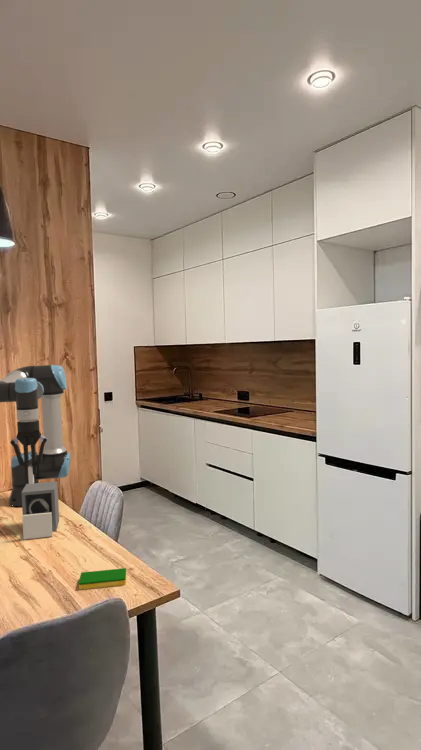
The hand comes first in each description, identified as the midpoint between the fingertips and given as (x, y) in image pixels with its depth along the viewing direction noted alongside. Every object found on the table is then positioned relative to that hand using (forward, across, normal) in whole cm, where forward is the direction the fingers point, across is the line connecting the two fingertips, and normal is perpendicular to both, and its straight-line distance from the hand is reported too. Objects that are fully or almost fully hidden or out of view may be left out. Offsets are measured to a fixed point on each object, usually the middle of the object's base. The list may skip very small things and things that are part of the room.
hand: (31, 483), depth 175 cm
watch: (+22, 0, +13) cm, 25 cm away
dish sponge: (+23, +25, -38) cm, 51 cm away
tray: (+22, +1, +12) cm, 25 cm away
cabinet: (+23, +1, +15) cm, 27 cm away
